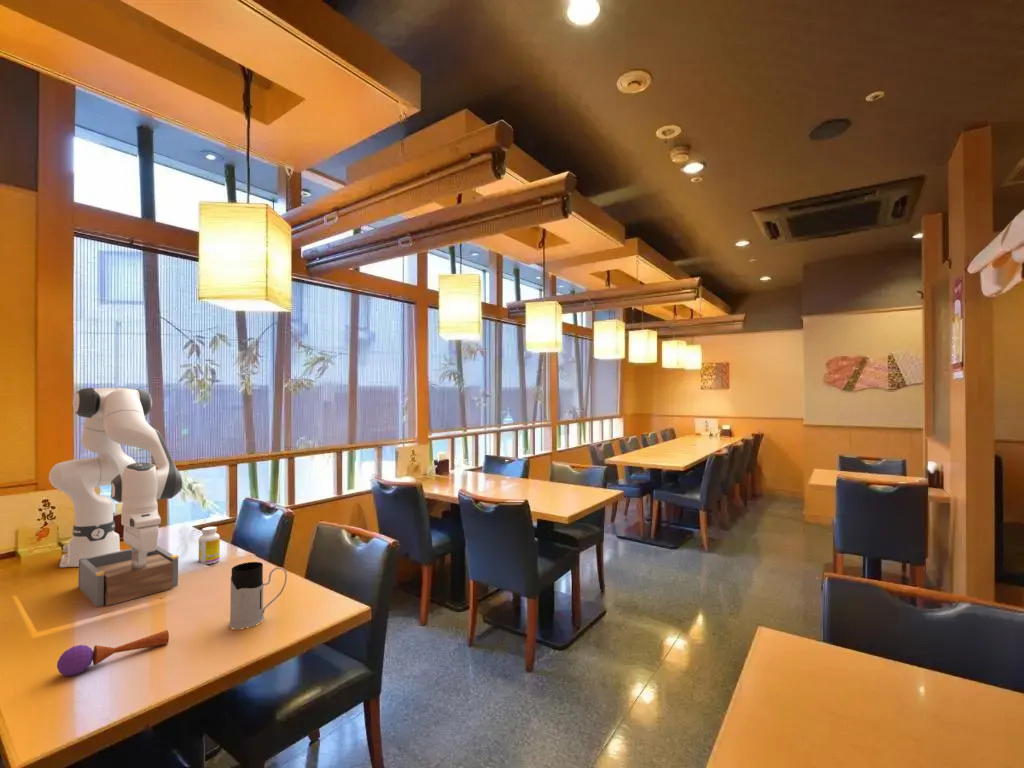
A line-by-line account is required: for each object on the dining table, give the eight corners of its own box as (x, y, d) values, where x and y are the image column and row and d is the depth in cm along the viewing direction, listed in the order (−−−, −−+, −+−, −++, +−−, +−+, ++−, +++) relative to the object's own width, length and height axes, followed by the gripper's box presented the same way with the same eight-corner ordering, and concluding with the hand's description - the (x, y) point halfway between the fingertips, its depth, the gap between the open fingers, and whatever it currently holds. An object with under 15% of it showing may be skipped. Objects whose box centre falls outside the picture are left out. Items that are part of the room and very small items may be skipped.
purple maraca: (171, 631, 117) (61, 659, 102) (167, 654, 117) (56, 685, 102) (165, 619, 121) (58, 644, 106) (161, 642, 121) (54, 670, 106)
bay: (78, 591, 152) (78, 557, 152) (154, 572, 168) (154, 542, 168) (96, 611, 137) (97, 574, 138) (177, 589, 153) (178, 555, 153)
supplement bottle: (223, 560, 181) (224, 525, 181) (210, 566, 174) (211, 530, 175) (207, 559, 182) (207, 525, 182) (193, 565, 175) (194, 530, 175)
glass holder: (231, 617, 133) (232, 563, 133) (287, 609, 138) (288, 557, 138) (225, 632, 125) (225, 574, 125) (285, 622, 130) (285, 567, 130)
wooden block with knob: (95, 593, 146) (96, 551, 147) (158, 578, 159) (158, 538, 159) (107, 605, 138) (108, 560, 138) (172, 588, 150) (173, 546, 151)
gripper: (117, 513, 151) (116, 557, 150) (136, 523, 138) (136, 571, 138) (142, 510, 156) (141, 552, 155) (162, 519, 143) (162, 565, 142)
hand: (139, 561), depth 146 cm, fingers closed on wooden block with knob, 4 cm apart
